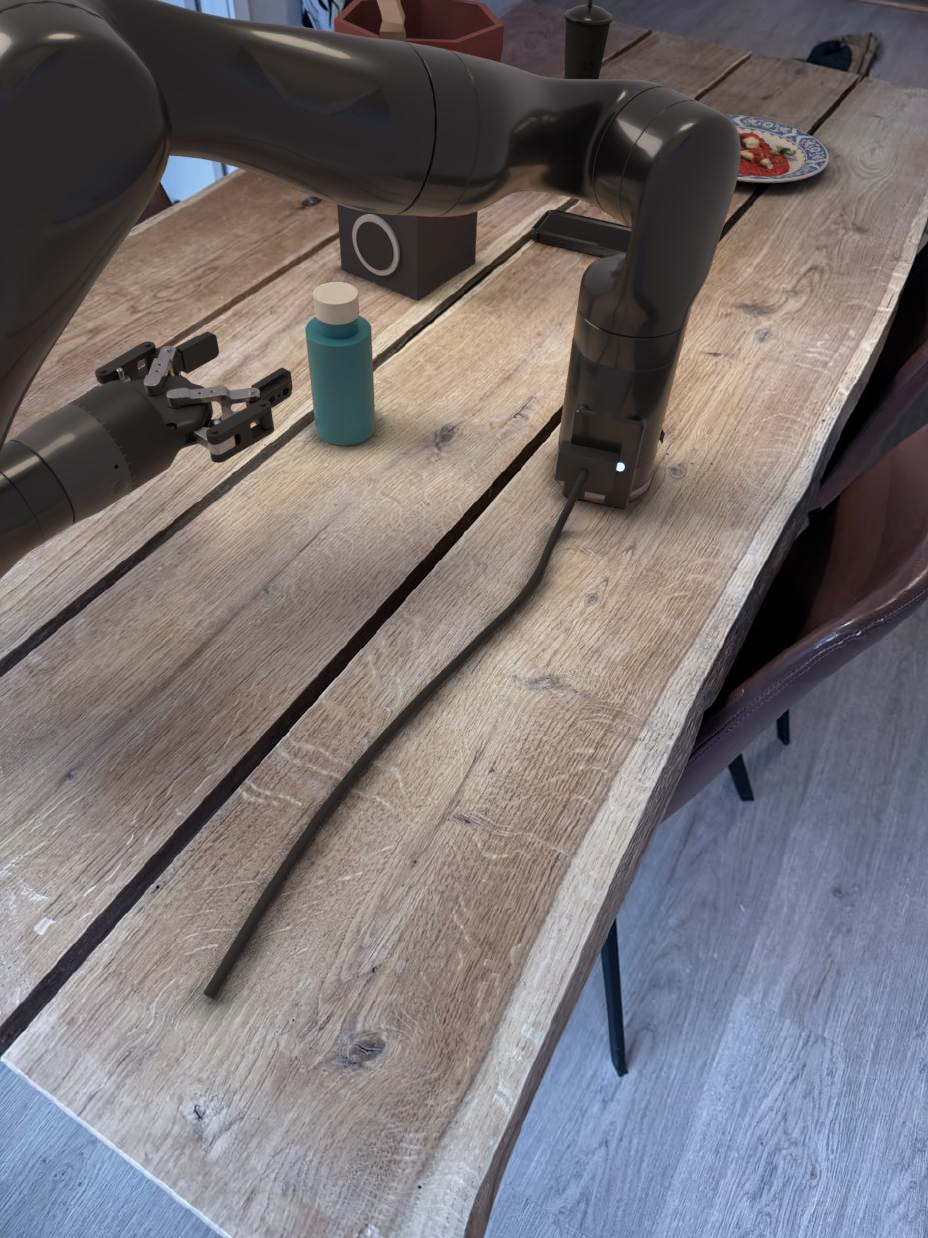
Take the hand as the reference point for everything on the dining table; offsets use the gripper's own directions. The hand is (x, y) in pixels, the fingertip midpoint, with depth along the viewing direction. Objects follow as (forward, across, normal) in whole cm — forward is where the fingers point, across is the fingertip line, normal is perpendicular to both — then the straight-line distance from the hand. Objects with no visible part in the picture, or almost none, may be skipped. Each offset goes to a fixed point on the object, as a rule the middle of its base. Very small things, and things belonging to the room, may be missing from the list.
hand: (250, 360), depth 75 cm
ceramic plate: (+101, -2, +12) cm, 102 cm away
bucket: (+68, +36, +13) cm, 78 cm away
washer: (+41, +16, +13) cm, 46 cm away
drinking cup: (+103, +28, +12) cm, 107 cm away
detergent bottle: (+11, 0, +13) cm, 17 cm away
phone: (+62, +2, +12) cm, 64 cm away
